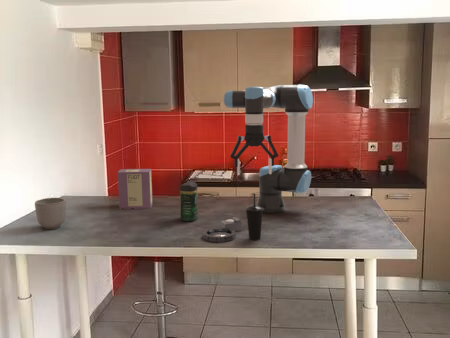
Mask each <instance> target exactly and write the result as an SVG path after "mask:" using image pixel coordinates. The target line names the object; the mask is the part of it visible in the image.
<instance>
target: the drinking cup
mask: <svg viewBox="0 0 450 338" xmlns="http://www.w3.org/2000/svg"><path fill="white" fill-rule="evenodd" d="M245 210H246V219H247V220H246V221H247V230H248V238H249V240H250V241H259V240H261V235H262V234H261V233H262V223H263V222H262V221H263V213H264V212H263V207H261V206H258V205H256V193H253V204H251V205H248V206H246V207H245Z"/></svg>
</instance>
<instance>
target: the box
mask: <svg viewBox="0 0 450 338" xmlns="http://www.w3.org/2000/svg"><path fill="white" fill-rule="evenodd" d="M152 180H153V179H152V168H125V169H123V168H121V169H120V168H119V170H118V171H117V187H118V189H117V190H118V204H119V206H118V207H119V210H132V209H131V208H134V209H133V210H136V209H137V210H138V209H139V210H141V209H152V206H153V183H152ZM122 208H123V209H122Z"/></svg>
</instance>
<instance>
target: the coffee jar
mask: <svg viewBox="0 0 450 338" xmlns="http://www.w3.org/2000/svg"><path fill="white" fill-rule="evenodd" d="M179 192H180V221H183V222H194V221H196V220H197V219H198V218H199V216H198V215H199V213H198V212H199V211H198V184H197V183H196V182H195V181H186V182H185V183H183V184H181V185H180V187H179Z"/></svg>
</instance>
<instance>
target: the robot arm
mask: <svg viewBox="0 0 450 338" xmlns="http://www.w3.org/2000/svg"><path fill="white" fill-rule="evenodd" d="M313 103H314V97H313V92H312V89H311V88H310V87H309V85H305V84H277V85H271V86H264V87H262V86H247V87H245V89H243V90H227V91H226V92H225V93H224V95H223V104H224V106H225V107H226V108H227V109H228V108H229V109H238V108H239V109H244V110H245V111H244V115H245V116H244V118H245V119H244V120H245V122H244V123H245V125H244V127H245V128H244V131H245V133H244V134H245V135H244V136H243V135H242V136H241V135H237V140H236V142H235V144H234V147H233V148H232V151H231V153H230V155H229V157H230V159H233V161H234V163H233V164H234V167H235V168H236V175H237V176H240V175H241V173H240V172H241V171H240V167H241V166H240V164H241V163H240V159H239V158H240V157H241V156H242V154H243V153H244V152H245V151H246V150H247V149H248V148H249V147H252V148H253V147H259V146H260V147H261V148H262V149H263V150H264V152H266V154H267V155H268V156H269V158H268V165H266V166H263V167H261V168H259V176H258V183H259V191H258V192H259V196H258V198H257V201H256V203H255V205H258V206H261V207H263V213H267V214H268V213H269V214H270V213H271V214H275V213H281V212H284V211H285V210H286V204H285V201H284V198H283V195H282V192H285V193H286V192H287V193H288V192H289V193H296V194H304V193H307V191H308V189H310V185H311V182H312V172H311V171H310V170H308V165H307V164H306V163H305V153H306V152H305V150H306V149H305V147H306V146H305V145H306V115H308V114H309V110H310V109H312V108H313ZM269 108H276V109H284V113H285V114H286V115H287V155H286V157H287V160H286V161H287V162H286V164H285V165H284V167H283V166H282V165H281V164H280V165H279V164H275V159H276V158H278V157H279V153H278V151H277V150H276V147H275V146H274V143H273V141H272V137H271V135H270V134H267V135H264V125H263V124H264V109H269ZM264 140H265V141H267V142H268V145H269V147H270V148H271V151H272V152H273V154H272V152H271V151H270V150H269V149H268V147H267V146H266V145H265V144H264V143H263V142H264ZM243 141H245V143H244V144H243V146H242V147H241V148H240V150H239V151H238V149H239V147H240V145H241V142H243ZM237 151H238V152H237Z"/></svg>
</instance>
